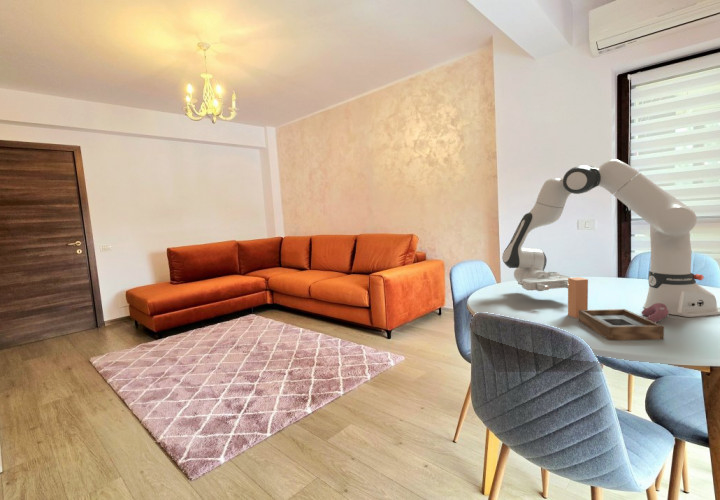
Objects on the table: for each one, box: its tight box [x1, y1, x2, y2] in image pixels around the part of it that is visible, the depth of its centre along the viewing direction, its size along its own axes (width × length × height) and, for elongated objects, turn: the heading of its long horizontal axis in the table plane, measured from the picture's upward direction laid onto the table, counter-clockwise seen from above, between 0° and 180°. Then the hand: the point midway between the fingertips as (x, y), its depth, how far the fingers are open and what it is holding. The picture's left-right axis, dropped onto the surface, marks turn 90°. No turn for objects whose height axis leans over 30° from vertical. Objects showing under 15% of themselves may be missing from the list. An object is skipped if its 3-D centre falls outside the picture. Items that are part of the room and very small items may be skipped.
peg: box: [567, 276, 589, 319], centre depth 126 cm, size 4×4×14 cm
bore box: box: [578, 308, 665, 341], centre depth 111 cm, size 15×18×4 cm
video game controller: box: [641, 302, 669, 323], centre depth 118 cm, size 10×5×7 cm, turn 149°
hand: (558, 287), depth 137 cm, fingers open, 8 cm apart
